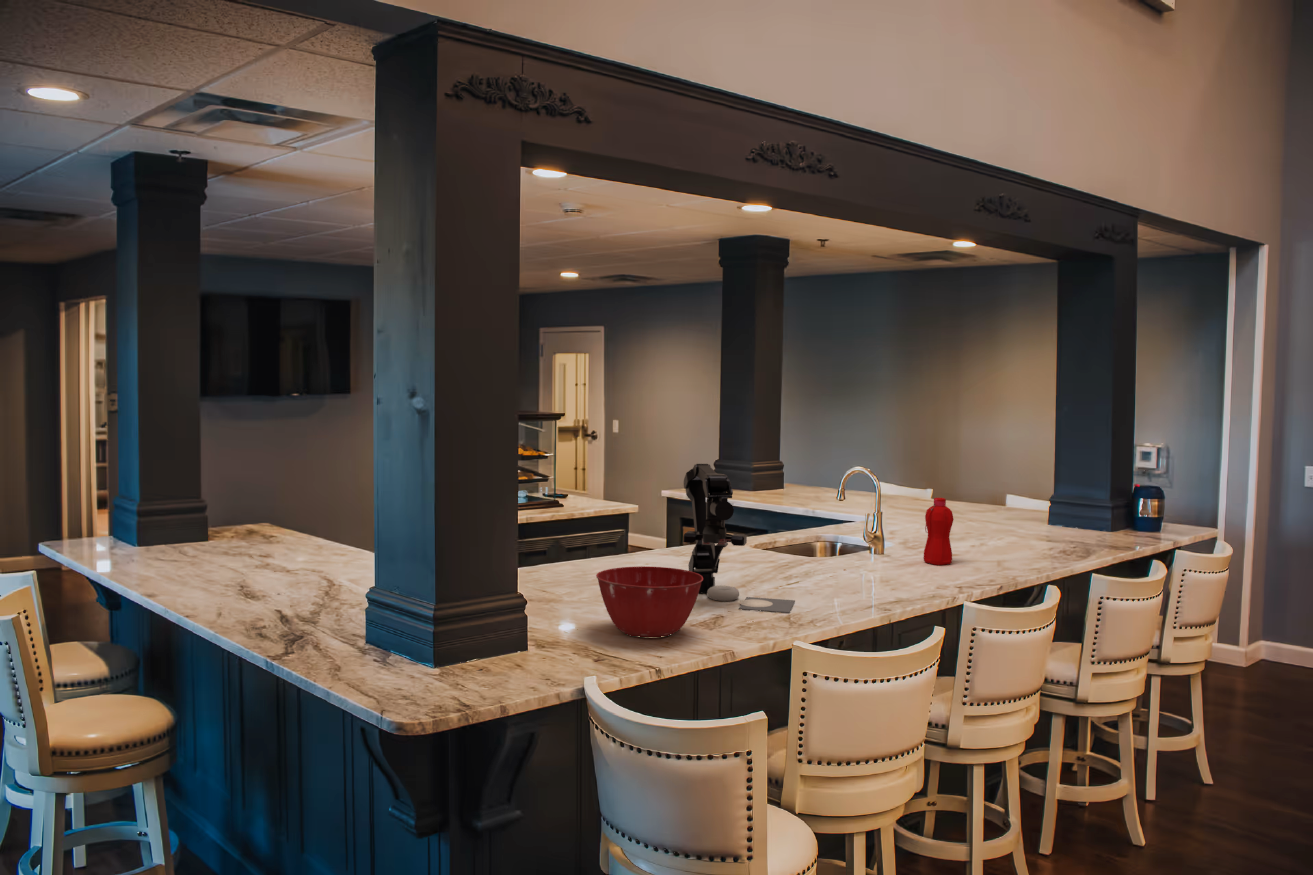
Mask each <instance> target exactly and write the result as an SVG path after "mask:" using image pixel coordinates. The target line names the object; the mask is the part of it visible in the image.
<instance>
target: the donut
mask: <svg viewBox="0 0 1313 875" xmlns="http://www.w3.org/2000/svg"><path fill="white" fill-rule="evenodd" d="M706 594H707V597H708V598H710V599H711V600H713V601H719V602H730V601H735V600H736V599H738V598H739V596H740V591H739V589H738V588H736V587H735V586H730V585H715V586H713V587H711V588H709V589H708V591H707V593H706Z"/></svg>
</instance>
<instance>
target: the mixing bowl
mask: <svg viewBox="0 0 1313 875" xmlns="http://www.w3.org/2000/svg"><path fill="white" fill-rule="evenodd" d="M595 577H596V579H597V580H598V586H599V591H600V594H601V599H602V601H603V604H604V606H605V608H606V612H607V613H608V616H609V618H610V619H611V621H612V623H613V625H614V626H615V627H616V628H617V629H618V630H619V631H620V632H622V633H623V632H624V633H625V634H624V633H623V634H624V635H626V634H628V635H627V636H629V635H631V636H630V637H632V636H640V637H661V636H668V635H670V634H672V635H674V633H676V632H679V630H681V629H682V628H683V626H684V625H685V624H686V622H687V621H688V619H689V617H690V616H691V613H692V612H693V610H694V606H695V604H696V601H697V599H698V596H699V594H700V593H699V589H700V586H701V582H702V581H703V577H702V576H701V575H700V574H697V573H695V572H691V571H689V570H687V569H682V568H675V567H664V566H663V567H662V566H622V567H614V568H609V569H603V570H601V571H599V572H598V573H596V575H595ZM668 637H669V636H668Z"/></svg>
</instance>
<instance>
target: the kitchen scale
mask: <svg viewBox="0 0 1313 875" xmlns="http://www.w3.org/2000/svg"><path fill="white" fill-rule="evenodd" d="M795 602H796V600H795V599H794V600H793V599H781V598H768V597H767V598H766V597H754V596H753V597H751V596H746V597H745V599H743V600H740V601H739V603H738V604H740V606H739V608H738V610H739V609H742V610H741V611H750V610H761V611H760V612H763V611H770V612H769V613H776V612H781V613H780V614H791V612H790V611H792V609H793V607H794V605H795Z"/></svg>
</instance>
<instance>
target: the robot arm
mask: <svg viewBox="0 0 1313 875" xmlns="http://www.w3.org/2000/svg"><path fill="white" fill-rule="evenodd" d="M683 488H684V489H685V493H686V494H685V495H686V497H687V498H688V499H689V500H690V502H691V505H692V516H693V518H692V519H693V527H694V530H687V531H686V532H685V533H684V534H683V535H682V536H683V538H682V539H683V543H687V544H688V543H690V544H693V543H695V546H694V547H693V549H692V551H691V555H690V559H689V561H688V571H691V572H695V573H697V574H700V575H701V576H702V577H703V581H702V582H701V586H700V589H699V593H698V594H707V591H708V589H709V588H711V587H713V586H716V576H714V574H718V573H719V565H720V560H721V559H720V556H721V554H722V551H723V549H724V548H726V547H727V546H728V545H729V544H728V543H730V544H732V545H733V546H737V547H739V546H740V547H743V546H745V545H746V544H747V540H748V539H747V535H746V534H745V533H733V534H732V535H727V528H726V527H725V526H726V525H725V524H726V521H728V520H730V519H731V518H732V517H733V515H734V512H735V510H734V509H735V508H734V507H733V504H732V503H731V502H729V501H728V499H733V495H734V494H733V493H734V491H733V486H732V482H731V481H730V478H729V477H728V475H727V474H724V473H717V472H716V471H715V470H714V469H713V468H712V467H711V464H709V463H696V464H694V465H693V467H692V468H691V469H690V470H688V471H687V472H686V473H685V475H684V479H683Z"/></svg>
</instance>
